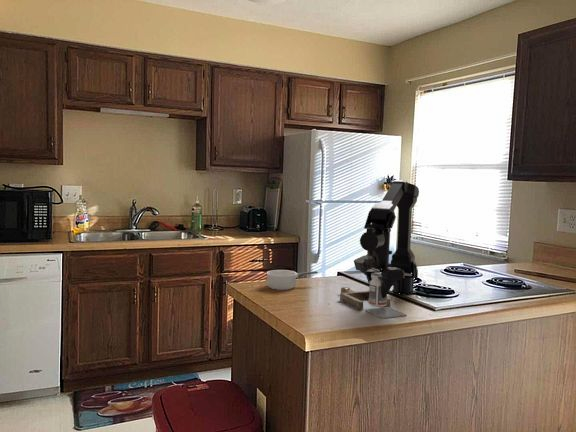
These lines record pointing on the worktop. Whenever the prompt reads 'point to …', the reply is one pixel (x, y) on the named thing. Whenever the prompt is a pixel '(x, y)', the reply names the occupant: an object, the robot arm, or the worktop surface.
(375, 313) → the coaster
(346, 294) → the ball knob bracket
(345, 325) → the worktop surface
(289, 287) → the saucepan
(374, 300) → the pill bottle
